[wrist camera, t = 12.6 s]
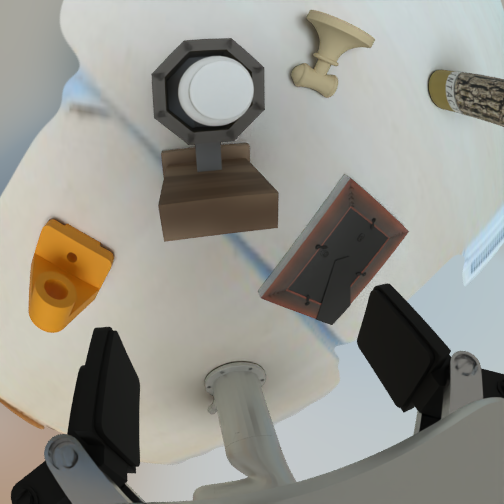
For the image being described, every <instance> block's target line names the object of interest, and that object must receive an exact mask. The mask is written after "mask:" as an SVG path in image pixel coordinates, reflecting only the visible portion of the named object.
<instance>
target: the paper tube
mask: <svg viewBox="0 0 504 504" xmlns="http://www.w3.org/2000/svg"><path fill="white" fill-rule="evenodd" d="M429 92H430V96H431V98H432V100H433V102H434V103H435V104H436V105H437V106H438V107H439V108H441V109H445V110H449V111H453V112H457V113H460V114H464V115H468V116H471V117H475V118H478V119H481V120H485V121H488V122H491V123H494V124H497V125H500V126H503V127H504V79H500V78H495V77H489V76H484V75H478V74H472V73H464V72H457V71H447V70H437V71H435V72H434V73H433V74H432V75H431V77H430V80H429Z"/></svg>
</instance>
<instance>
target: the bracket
mask: <svg viewBox="0 0 504 504" xmlns="http://www.w3.org/2000/svg"><path fill="white" fill-rule="evenodd" d="M100 244H101V243H100V242H98V241H97V240H95V239H93V238H91V237H89V236H88V235H86V234H84V233H83V232H81V231H79V230H77V229H76V228H74V227H72V226H71V225H69V224H66V225H65V226H64V225H63V224H61V223H59V222H58V221H56V220H53V219H51V220H49V221H48V222H47V224H46V225H45V226H44V227H43V229H42V231H41V234H40V237H39V240H38V243H37V247H36V250H35V253H34V256H33V260H32V263H31V272H30V286H29V316H30V318H31V320H32V322H33V323H34V324H35V325H36V326H37V327H38V328H40V329H41V330H43V331H46V332H51V333H54V332H59V331H61V330H62V329H64V328H65V327H66V326H67V325H68V324H69V323H70V322H71V321H72V320H73V319H74V318H75V317H76V316H77V315H78V314H79V313H80V312H81V311H83V310H84V309H85V308H86V307H87V306H88V305H89V304H90V303H91V302H92V301H93V300H95V298H96V296H97V294H98V292H99V290H100V288H101V286H102V284H103V282H104V280H105V278H106V276H107V274H108V272H109V270H110V268H111V266H112V263H113V260H114V256H113V254H112V253H111V252H110V251H108V250H106V249H105V248H103V247H101V246H100Z"/></svg>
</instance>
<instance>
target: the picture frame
mask: <svg viewBox="0 0 504 504" xmlns="http://www.w3.org/2000/svg"><path fill="white" fill-rule="evenodd" d="M408 232H409V231H408V230H407V229H406V228H405V227H404V226H403V225H402V224H401V223H400V222H399V221H398V220H397V219H396V218H395V217H393V216H392V215H391V214H390V213H389V212H388V211H387V210H386V209H385V208H384V207H383V206H382V205H381V204H380V203H378V202H377V201H376V200H375V199H374V198H373V197H372V196H371V195H370V194H368V193H367V192H366V191H365V190H364V189H363V188H362V187H360V186H359V185H358V184H357V183H356V182H355V181H353V180H352V179H351V178H350V177H348V176H346V175H345V174H344V175H343V177H342V178H341V180H340V181H339V182H338V184H337V185H336V187H335V188H334V189H333V191H332V192H331V194H330V195H329V196H328V198H327V199H326V201H325V202H324V203H323V205H322V206H321V207H320V209H319V210H318V212H317V213H316V214H315V216H314V217H313V218H312V220H311V221H310V222H309V224H308V225H307V227H306V228H305V229H304V231H303V232H302V233H301V235H300V236H299V237H298V239H297V240H296V241H295V243H294V244H293V245H292V247H291V248H290V249H289V251H288V252H287V253H286V255H285V256H284V257H283V259H282V260H281V261H280V263H279V264H278V265H277V267H276V268H275V269H274V271H273V272H272V273H271V275H270V276H269V277H268V279H267V280H266V281H265V283H264V284H263V285H262V286H261V288H260V289H259V290H258V292H259V295H260V297H261V298H262V299H264V300H267V301H270V302H272V303H275V304H277V305H280V306H283V307H285V308H288V309H291V310H293V311H296V312H299V313H301V314H304V315H307V316H310V317H312V318H315V319H316V320H319V321H322V322H325V323H328V324H330V325H333V324H334V323H335V321H336V320H337V319H338V318H339V317H340V316H341V315H342V314H343V313H344V312H345V311H346V309H347V308H348V307H349V306H350V305H351V303H352V302H353V300H354V299H355V298H356V297H357V296H358V295H359V294H360V292H361V291H362V290H363V289H364V288H365V286H366V285H367V284H368V283H369V282H370V281H371V279H372V278H373V277H374V276H375V274H376V273H377V272H378V271H379V270H380V268H381V267H382V266H383V265H384V263H385V262H386V261H387V260H388V258H389V257H390V256H391V254H392V253H393V252H394V251H395V249H396V248H397V247H398V245H399V244H400V243H401V241H402V240H403V239H404V237H405V236H406V235H407V233H408Z"/></svg>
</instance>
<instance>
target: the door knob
mask: <svg viewBox="0 0 504 504" xmlns="http://www.w3.org/2000/svg"><path fill="white" fill-rule="evenodd" d="M306 19H307V20H308V21H310V22H311V23H312V24H313V26H314V27H315V28H316V30H317V32H318V35H319V40H320V45H319V50H318V53H314V54H313V55H314V57H316V58H318V61H317V63H316V65H315V67H314V69H313V68H311V67H310V66H309V65H308V64H306V63H303V64H301V65H298V66H296V67H295V68H294V69H293V70H292V74H291V76H292V79H293V81H294V84H295V86H297V87H308V88H311V89H314V90H316V91H318V92H319V93H321V94H322V95H323V96H324V97H326V98H329V97H331V96H332V95H333V94H334V93H335V91H336V89H337V86H338V79H337V77H336V76H335V75H327V72H328V70H329V68H330V66H331V64H332V65H334V66H338V63H337V60H338V58H339V57H340V56H341V55H342V54H343V53H344V52H346V51H347V50H349V49H352V48H356V47H367V48H371V47H372V45H373V43H374V41H375V39H374V38H373V37H372V36H370V35H369V34H368V33H366V32H364V31H363V30H361V29H359V28H357V27H356V26H354V25H352V24H350V23H348V22H346V21H343V20H341V19H339V18H336V17H334V16H331V15H329V14H326V13H323V12H319V11H315V10H310V11H309V14H308V16H307V18H306Z"/></svg>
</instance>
